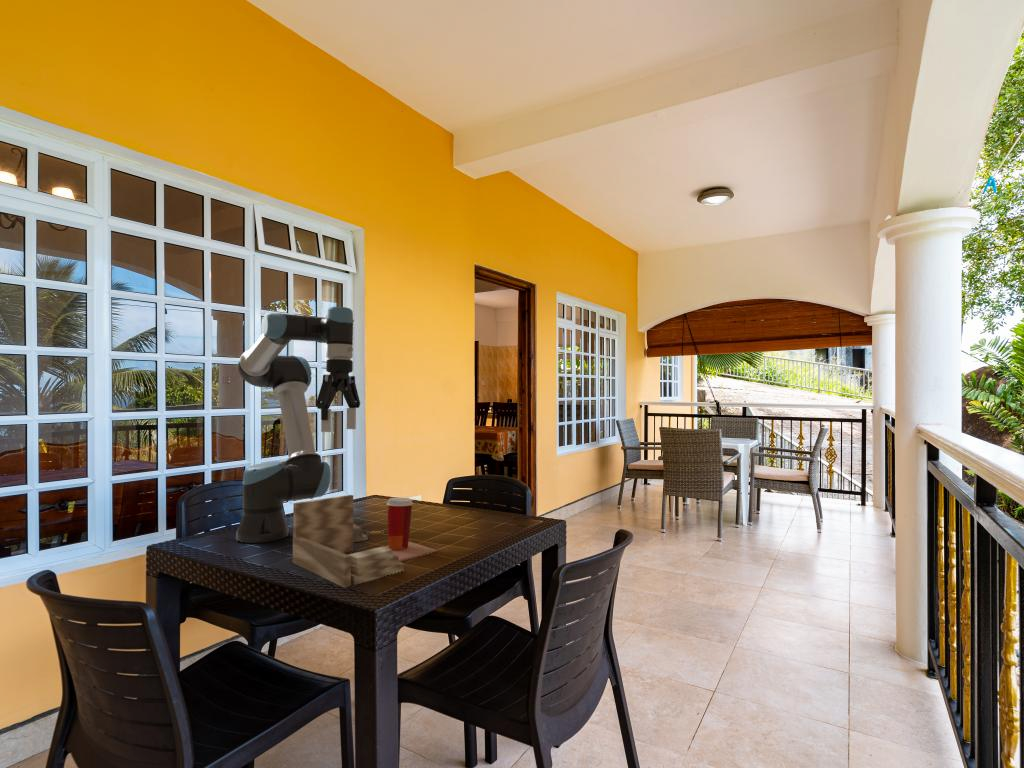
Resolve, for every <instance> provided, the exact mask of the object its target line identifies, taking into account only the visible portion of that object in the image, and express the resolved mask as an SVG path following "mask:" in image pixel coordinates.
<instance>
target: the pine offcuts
mask: <svg viewBox="0 0 1024 768" xmlns="http://www.w3.org/2000/svg"><path fill="white" fill-rule="evenodd" d="M347 555H349V556H351V585H353V586H357V585H359V584H364V583H366V582H370V581H374V580H378V579H381V578H384V576H385V577H388V576H387V575H389V576H392V575H396V574H399V573H402V572H401V571H403V572H405V568H404V567H405V566H404V565H405V563H403V562H402V561H401V562H398V556H395V555H393V550H392V549H389V548H386V547H384V546H379V547H374V548H371V549H366V550H363V551H361V550H360V551H358V552H353V553H350V554H347ZM398 572H399V573H398ZM395 573H396V574H395ZM391 574H392V575H391ZM363 582H364V583H363Z"/></svg>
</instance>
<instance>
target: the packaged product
mask: <svg viewBox="0 0 1024 768" xmlns="http://www.w3.org/2000/svg"><path fill="white" fill-rule="evenodd" d="M368 538H369V537H368V535H367V534H365V533H363V529H362V527H361V526H359V525H357V524H356V523H354V522H353V543H356V542H357V543H358V542H362V541H368Z"/></svg>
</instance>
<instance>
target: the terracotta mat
mask: <svg viewBox="0 0 1024 768" xmlns="http://www.w3.org/2000/svg"><path fill="white" fill-rule="evenodd" d="M383 547H386V548H389V547H388V545H384V546H383ZM435 551H438V550H437V549H434V548H431V547H427V546H425V545H421V544H419V543H415V542H412V541H409V542H408V548H407V549H404V550H393V555H395V556H398V562H401V563H402V562H404V561H408V560H411V559H416V558H419V556H420V557H423V556H422V555H424V556H426V555H425V554H427V555H430V554H429V553H431V554H433V553H432V552H435ZM435 553H436V552H435Z"/></svg>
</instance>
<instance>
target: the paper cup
mask: <svg viewBox="0 0 1024 768" xmlns="http://www.w3.org/2000/svg"><path fill="white" fill-rule="evenodd" d="M413 505H414V502H413V500H412V499H411V498H409V497H390V498H389V499H388V500H387V502H386V506H387V544H388V545H387V546H388V547H389V549H392V550H404V549H407V548H408V542H410V531H411V521H412V519H411V518H412V509H413Z"/></svg>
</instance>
